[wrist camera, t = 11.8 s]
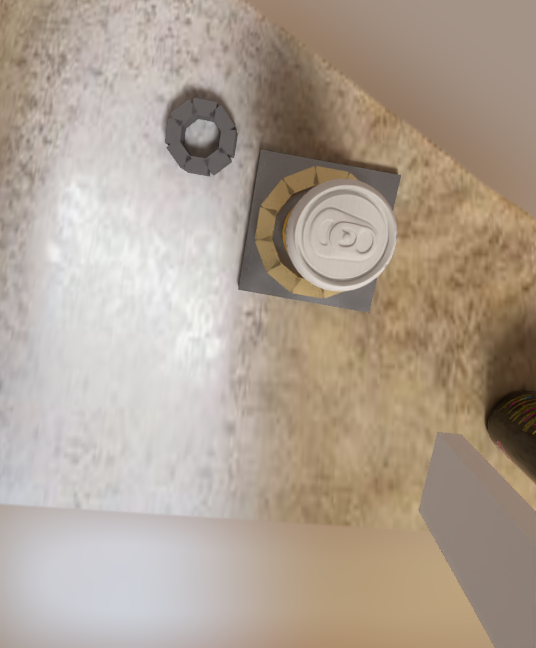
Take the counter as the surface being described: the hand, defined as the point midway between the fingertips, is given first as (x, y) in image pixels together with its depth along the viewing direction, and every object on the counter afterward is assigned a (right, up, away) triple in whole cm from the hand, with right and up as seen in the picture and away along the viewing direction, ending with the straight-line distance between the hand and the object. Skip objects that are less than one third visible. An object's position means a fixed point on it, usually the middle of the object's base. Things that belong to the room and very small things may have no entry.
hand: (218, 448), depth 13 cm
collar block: (+6, +12, +25) cm, 28 cm away
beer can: (+6, +12, +24) cm, 27 cm away
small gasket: (-4, +19, +23) cm, 31 cm away
